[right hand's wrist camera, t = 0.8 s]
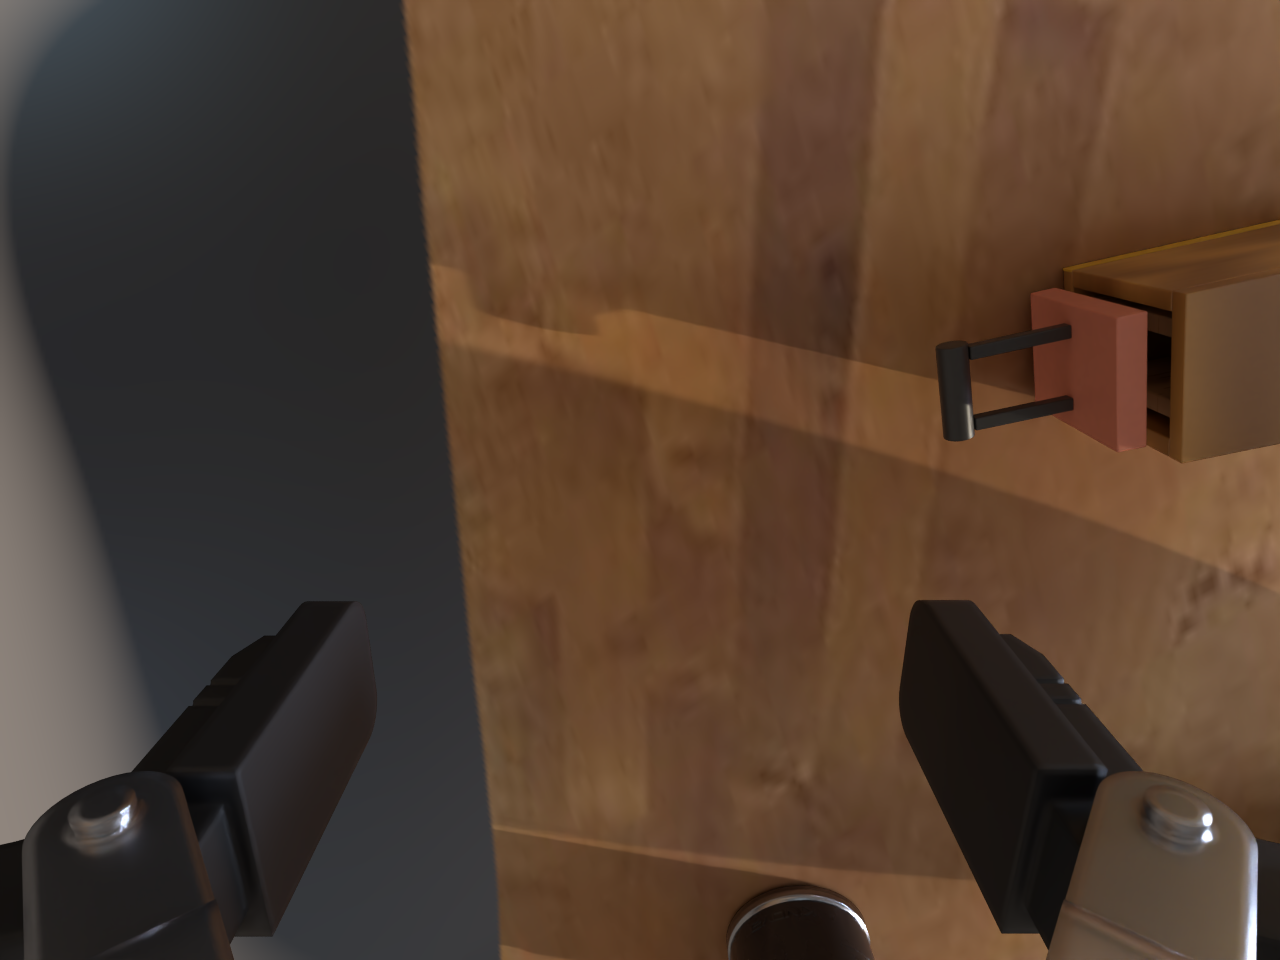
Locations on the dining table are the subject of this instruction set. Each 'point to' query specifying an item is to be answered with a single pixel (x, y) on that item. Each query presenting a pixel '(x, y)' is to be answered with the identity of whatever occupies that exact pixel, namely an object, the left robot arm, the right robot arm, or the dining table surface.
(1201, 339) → the cabinet
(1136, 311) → the drawer
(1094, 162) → the dining table surface
